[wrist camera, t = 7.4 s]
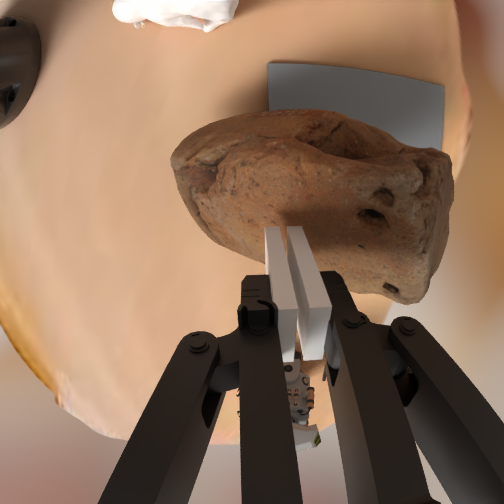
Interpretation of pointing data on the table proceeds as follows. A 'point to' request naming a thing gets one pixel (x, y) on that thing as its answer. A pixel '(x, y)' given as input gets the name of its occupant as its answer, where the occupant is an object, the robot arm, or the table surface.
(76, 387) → the table surface
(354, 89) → the mat
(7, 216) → the table surface
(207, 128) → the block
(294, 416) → the figurine
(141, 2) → the white lumpy piece
